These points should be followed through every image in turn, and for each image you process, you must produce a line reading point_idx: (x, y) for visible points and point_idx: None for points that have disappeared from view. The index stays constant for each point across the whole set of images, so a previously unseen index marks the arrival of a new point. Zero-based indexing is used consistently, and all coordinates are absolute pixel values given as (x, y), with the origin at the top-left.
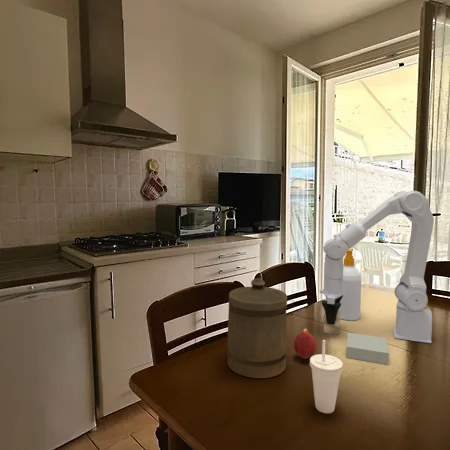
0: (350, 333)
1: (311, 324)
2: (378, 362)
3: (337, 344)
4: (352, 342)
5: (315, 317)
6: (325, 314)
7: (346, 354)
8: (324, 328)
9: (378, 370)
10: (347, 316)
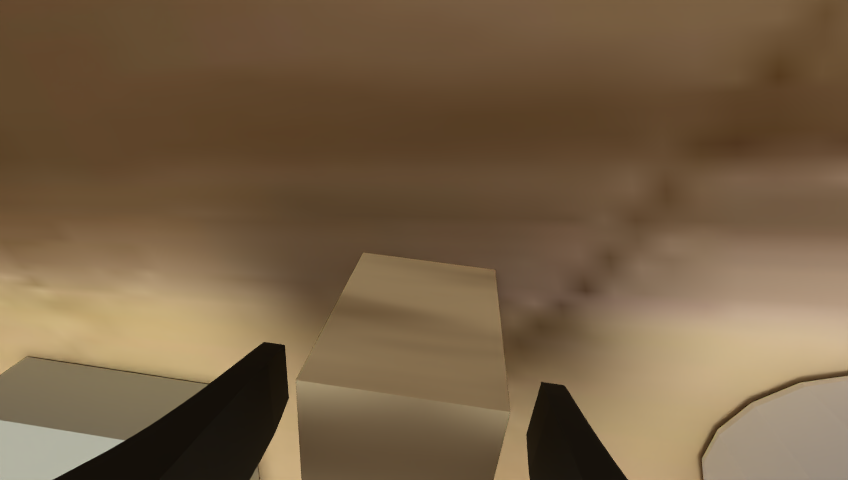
0: None
1: (551, 137)
2: None
3: (181, 330)
4: (40, 450)
5: (806, 180)
6: (297, 390)
7: (6, 371)
8: (353, 277)
9: None
10: (723, 478)
